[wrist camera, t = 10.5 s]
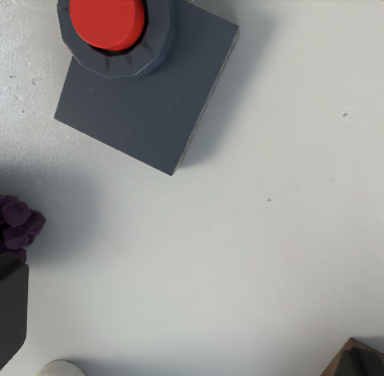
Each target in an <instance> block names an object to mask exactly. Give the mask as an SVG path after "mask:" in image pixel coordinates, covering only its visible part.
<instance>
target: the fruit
mask: <svg viewBox="0 0 384 376" xmlns="http://www.w3.org/2000/svg"><path fill="white" fill-rule="evenodd" d="M45 222H46V219H45V218H44V216H43V215H42V214H41V213H40V212H39V211H35V210H31V209H29V208H28V205H27V203H24V202H21V201H19V200H18V198H17V197H14V196H2V195H1V194H0V254H2V253H7V254H11V255H15V256H19V257H22V258H24V260H25V262H26V250H25V249H23V248H22V247H28V246H29V245H30V244H32V243H33V241H34V238H35V236H36V235H39V233H40V231H41V229H42V227H43V226H44V224H45ZM5 223H6V224H5Z"/></svg>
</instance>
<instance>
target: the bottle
mask: <svg viewBox="0 0 384 376" xmlns="http://www.w3.org/2000/svg"><path fill="white" fill-rule="evenodd" d="M36 376H86V375H85V374H84V373H83V371H82V370H81V369H80V368H79V367H77V366H76V365H74V364H73V363H70V362H67V361H64V360H59V361H53V362H51V363H49V364H47V365H46V366H44V367H43V368H42V369H41V370H40V371H39V373H38V374H37V375H36Z"/></svg>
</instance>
